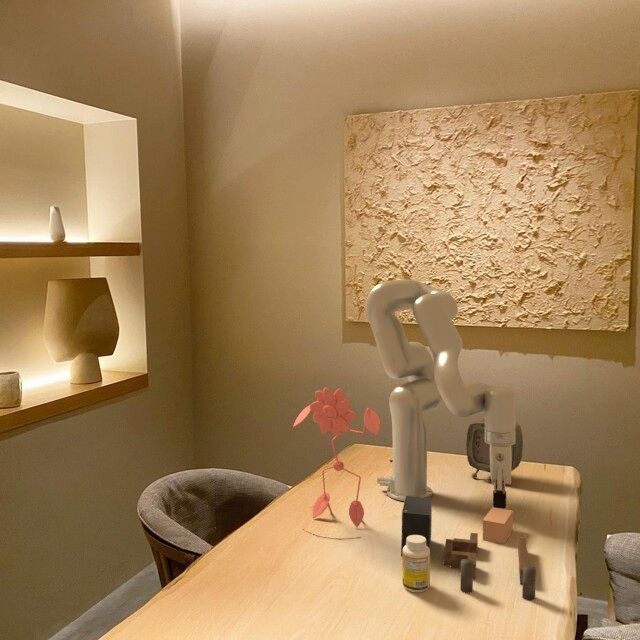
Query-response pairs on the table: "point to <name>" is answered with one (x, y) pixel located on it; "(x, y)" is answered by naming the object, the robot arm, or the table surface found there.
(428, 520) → the small box
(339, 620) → the table surface
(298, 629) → the table surface
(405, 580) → the supplement bottle
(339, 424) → the figurine
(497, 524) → the block
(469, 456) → the tabletop clock
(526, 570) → the brown notched pieces
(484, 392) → the robot arm
